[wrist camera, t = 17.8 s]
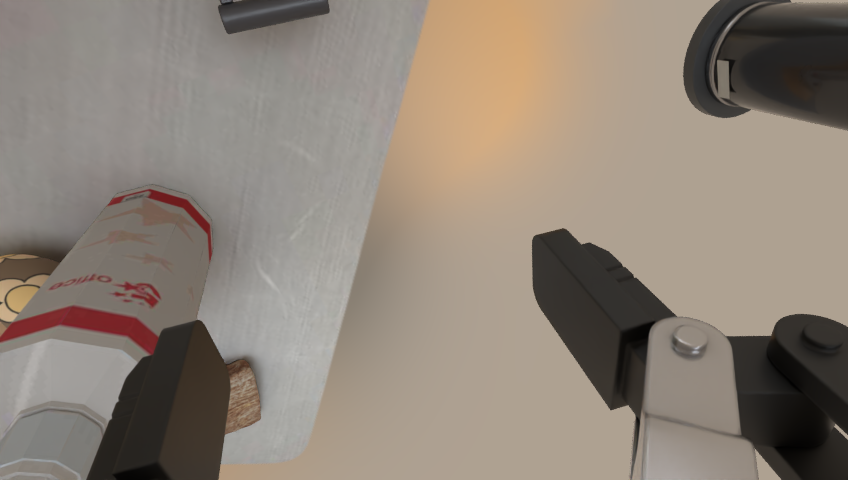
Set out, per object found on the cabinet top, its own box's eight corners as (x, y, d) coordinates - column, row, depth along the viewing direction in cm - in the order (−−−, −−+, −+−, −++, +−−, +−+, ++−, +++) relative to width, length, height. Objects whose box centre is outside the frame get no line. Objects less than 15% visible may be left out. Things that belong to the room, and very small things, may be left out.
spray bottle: (126, 290, 37) (-78, 694, 15) (76, 203, 33) (-286, 573, 12) (229, 260, 38) (175, 595, 16) (191, 174, 34) (58, 458, 13)
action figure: (-125, 421, 32) (-112, 235, 27) (59, 367, 42) (94, 222, 37) (-64, 532, 29) (-35, 341, 24) (122, 445, 38) (170, 296, 33)
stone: (231, 399, 46) (270, 421, 44) (179, 443, 42) (220, 470, 40) (220, 343, 43) (262, 364, 41) (162, 385, 38) (206, 410, 36)
